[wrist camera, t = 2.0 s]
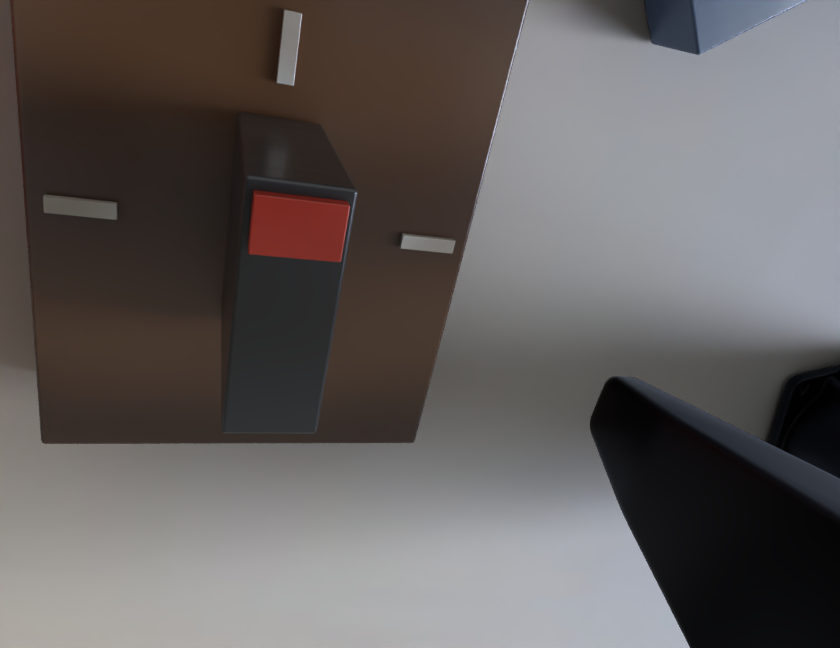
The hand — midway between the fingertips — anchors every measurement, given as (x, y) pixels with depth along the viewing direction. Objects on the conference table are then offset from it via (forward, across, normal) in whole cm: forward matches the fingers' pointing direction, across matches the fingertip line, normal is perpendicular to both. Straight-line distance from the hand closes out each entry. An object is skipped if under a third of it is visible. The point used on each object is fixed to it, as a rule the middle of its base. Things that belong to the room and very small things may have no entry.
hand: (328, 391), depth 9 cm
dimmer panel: (+10, 0, 0) cm, 10 cm away
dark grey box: (+7, 0, 0) cm, 7 cm away
